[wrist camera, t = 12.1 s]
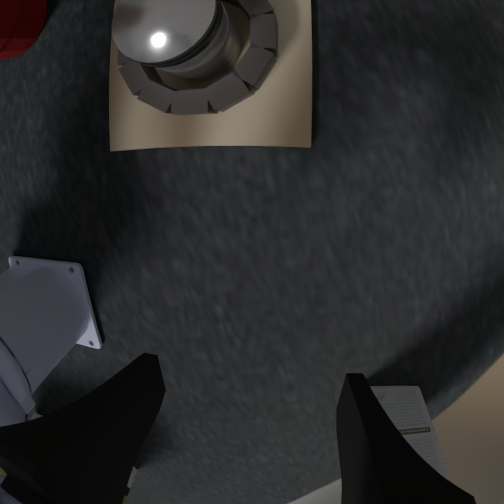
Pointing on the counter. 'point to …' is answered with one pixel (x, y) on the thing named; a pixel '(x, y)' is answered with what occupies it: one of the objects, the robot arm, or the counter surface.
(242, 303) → the counter surface
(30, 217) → the counter surface
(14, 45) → the plastic cup
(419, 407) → the syrup box
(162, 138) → the mount plate
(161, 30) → the silver capped cylinder
